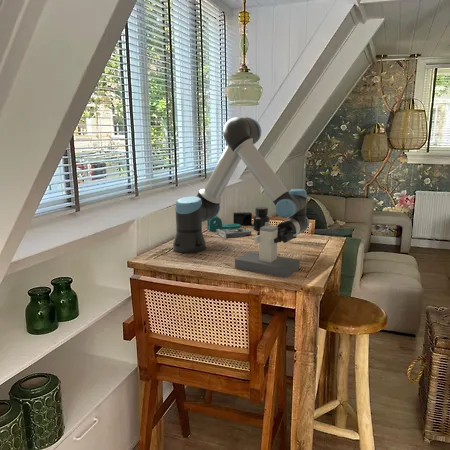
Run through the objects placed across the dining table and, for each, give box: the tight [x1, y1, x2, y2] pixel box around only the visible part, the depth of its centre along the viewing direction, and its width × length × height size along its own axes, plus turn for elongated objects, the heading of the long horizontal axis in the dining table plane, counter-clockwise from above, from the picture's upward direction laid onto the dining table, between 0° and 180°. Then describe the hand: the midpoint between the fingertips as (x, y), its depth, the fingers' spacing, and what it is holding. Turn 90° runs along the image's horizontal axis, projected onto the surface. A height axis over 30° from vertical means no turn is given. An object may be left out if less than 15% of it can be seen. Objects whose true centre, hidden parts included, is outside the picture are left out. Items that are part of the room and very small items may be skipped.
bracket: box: [206, 215, 242, 232], centre depth 238 cm, size 18×7×8 cm, turn 104°
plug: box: [258, 225, 278, 263], centre depth 166 cm, size 5×5×14 cm
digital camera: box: [232, 211, 253, 227], centre depth 248 cm, size 10×5×7 cm, turn 92°
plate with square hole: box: [234, 251, 301, 279], centre depth 168 cm, size 22×12×4 cm, turn 58°
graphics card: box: [215, 227, 252, 240], centre depth 224 cm, size 17×4×12 cm
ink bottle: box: [252, 206, 271, 232], centre depth 236 cm, size 10×9×12 cm
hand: (262, 241), depth 161 cm, fingers closed on plug, 5 cm apart
